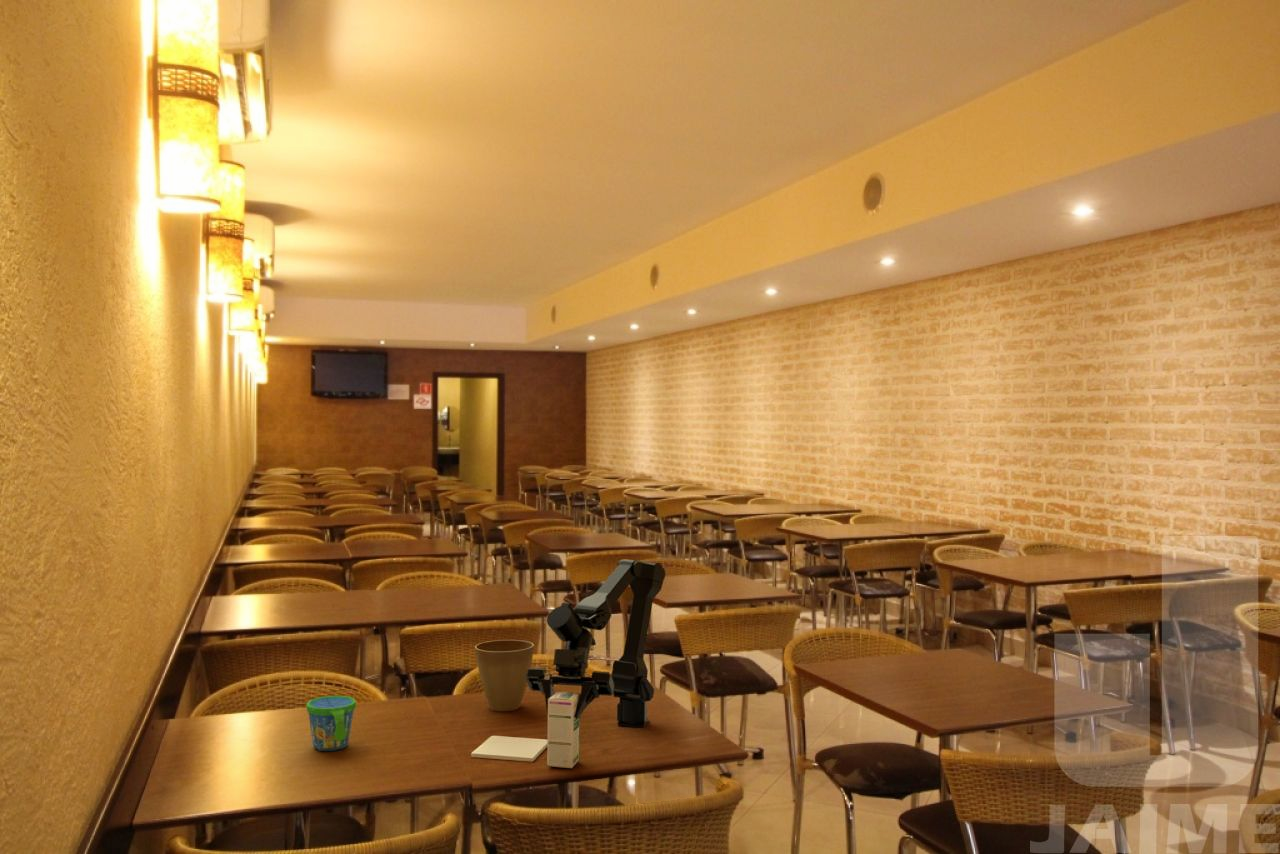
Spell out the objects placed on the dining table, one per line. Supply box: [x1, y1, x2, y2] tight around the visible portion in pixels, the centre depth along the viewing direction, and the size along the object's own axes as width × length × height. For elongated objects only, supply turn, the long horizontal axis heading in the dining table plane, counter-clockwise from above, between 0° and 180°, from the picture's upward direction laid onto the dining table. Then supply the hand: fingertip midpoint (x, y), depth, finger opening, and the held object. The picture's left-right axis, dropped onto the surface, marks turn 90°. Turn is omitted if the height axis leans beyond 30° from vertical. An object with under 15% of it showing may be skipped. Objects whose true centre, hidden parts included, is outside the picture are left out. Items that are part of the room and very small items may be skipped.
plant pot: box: [474, 639, 535, 712], centre depth 263 cm, size 15×15×16 cm
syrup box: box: [546, 691, 581, 769], centre depth 220 cm, size 6×6×14 cm
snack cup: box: [305, 695, 357, 752], centre depth 231 cm, size 16×10×10 cm
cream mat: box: [470, 735, 547, 763], centre depth 229 cm, size 14×13×1 cm
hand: (562, 716), depth 218 cm, fingers closed on syrup box, 6 cm apart
